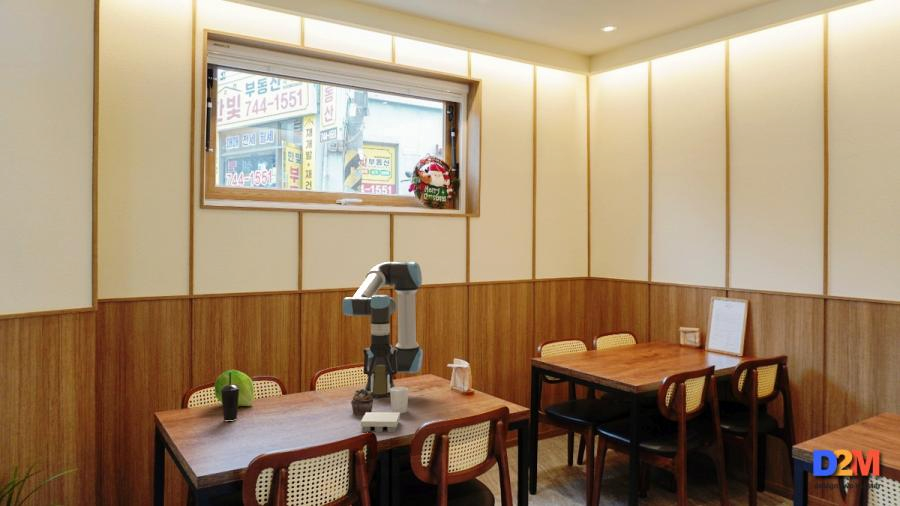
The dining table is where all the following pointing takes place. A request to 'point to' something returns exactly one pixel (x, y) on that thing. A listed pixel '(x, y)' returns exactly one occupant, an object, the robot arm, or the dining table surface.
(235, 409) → the drinking cup
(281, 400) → the dining table surface
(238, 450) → the dining table surface
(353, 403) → the cupcake
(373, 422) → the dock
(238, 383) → the lettuce
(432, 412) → the dining table surface
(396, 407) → the white cup
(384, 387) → the cork
